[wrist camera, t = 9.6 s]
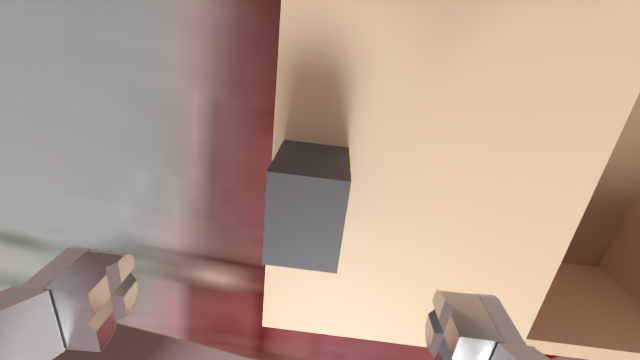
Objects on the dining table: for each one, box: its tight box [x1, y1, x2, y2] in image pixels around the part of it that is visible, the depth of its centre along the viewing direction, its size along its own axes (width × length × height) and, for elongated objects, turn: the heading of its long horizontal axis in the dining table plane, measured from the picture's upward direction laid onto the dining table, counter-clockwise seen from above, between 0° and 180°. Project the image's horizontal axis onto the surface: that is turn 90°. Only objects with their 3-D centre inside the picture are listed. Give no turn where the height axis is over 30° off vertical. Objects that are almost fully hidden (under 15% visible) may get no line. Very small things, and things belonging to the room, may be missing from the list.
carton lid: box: [262, 0, 640, 347], centre depth 15 cm, size 19×15×5 cm
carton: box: [525, 93, 640, 360], centre depth 22 cm, size 20×16×10 cm
